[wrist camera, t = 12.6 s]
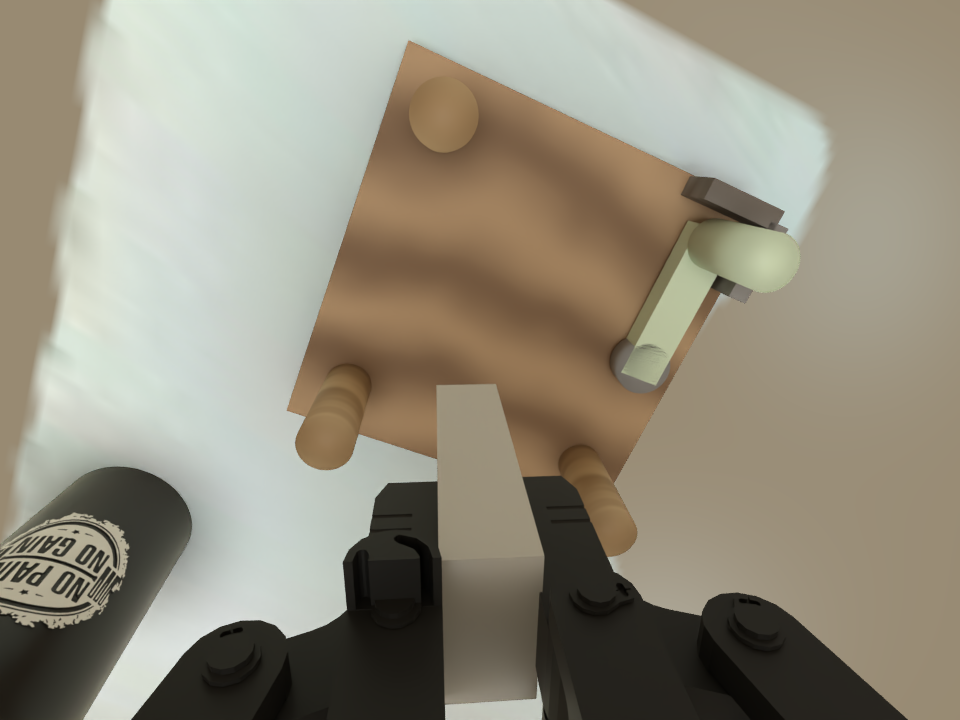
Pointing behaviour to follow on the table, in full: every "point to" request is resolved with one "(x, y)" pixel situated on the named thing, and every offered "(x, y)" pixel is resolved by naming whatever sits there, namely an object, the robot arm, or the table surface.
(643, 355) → the hinged leg
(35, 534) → the water bottle
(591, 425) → the stool seat
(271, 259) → the table surface
